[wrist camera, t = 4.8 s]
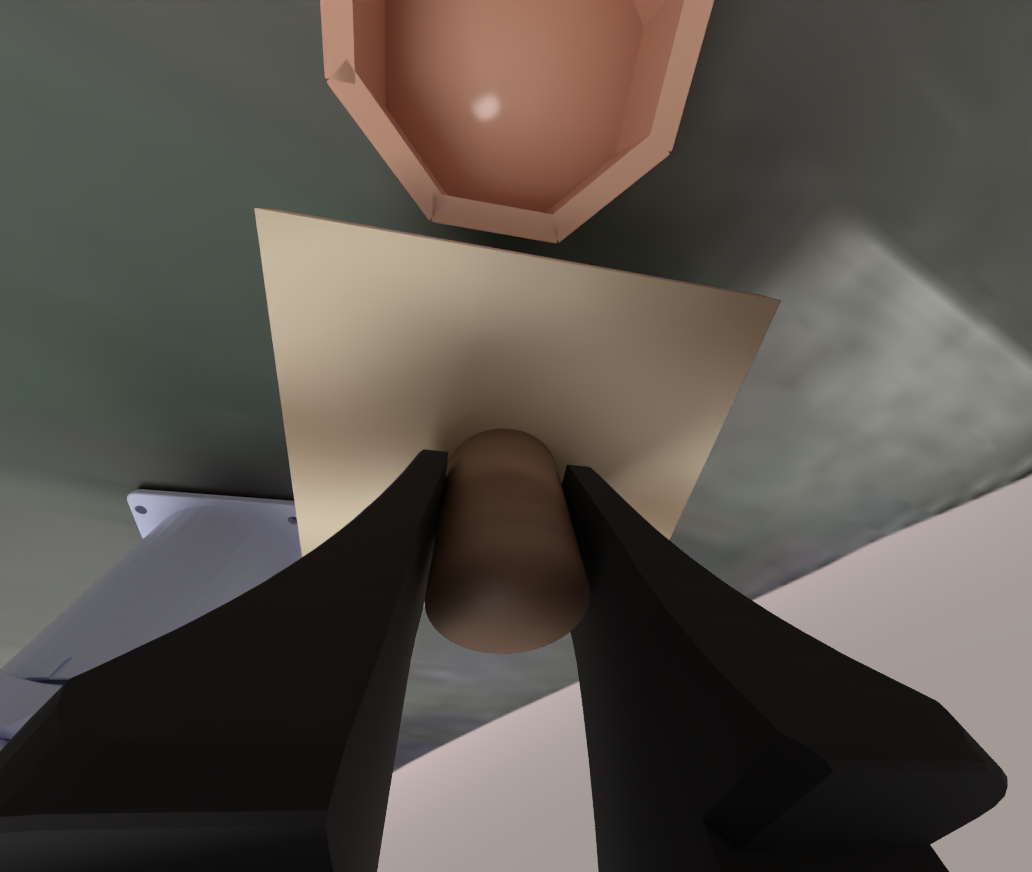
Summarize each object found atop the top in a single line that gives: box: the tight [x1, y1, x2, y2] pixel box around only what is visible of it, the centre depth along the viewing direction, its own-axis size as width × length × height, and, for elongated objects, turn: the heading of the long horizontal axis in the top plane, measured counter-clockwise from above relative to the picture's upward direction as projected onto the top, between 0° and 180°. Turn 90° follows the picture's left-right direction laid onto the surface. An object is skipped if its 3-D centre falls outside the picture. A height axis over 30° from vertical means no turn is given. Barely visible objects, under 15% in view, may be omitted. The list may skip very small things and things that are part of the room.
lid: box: [254, 208, 781, 654], centre depth 9 cm, size 11×11×5 cm
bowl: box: [320, 0, 714, 243], centre depth 11 cm, size 9×9×4 cm
